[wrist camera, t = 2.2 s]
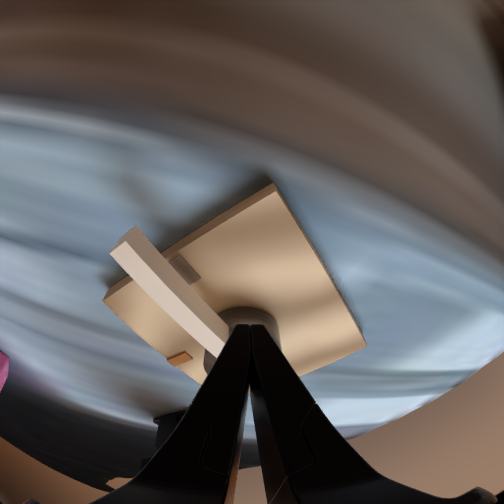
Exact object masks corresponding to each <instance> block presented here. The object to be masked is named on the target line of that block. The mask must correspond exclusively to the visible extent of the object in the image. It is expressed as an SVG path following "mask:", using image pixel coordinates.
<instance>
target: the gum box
mask: <svg viewBox="0 0 504 504" xmlns="http://www.w3.org/2000/svg"><path fill="white" fill-rule="evenodd" d="M8 368H9V357H7V356H6V355H5V354H3V353H2V352H1V351H0V391H1V389H2V387H3V385H4V383H5V381H6V379H7V377H8Z"/></svg>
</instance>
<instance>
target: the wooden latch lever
mask: <svg viewBox="0 0 504 504" xmlns="http://www.w3.org/2000/svg"><path fill="white" fill-rule="evenodd" d="M110 255H111V256H112V257H113V258H114V259H115V260H116V261H117V262H118V263H119V265H120V266H121V267H122V268H123V269H124V270H125V271H126V272H127V273H128V274H129V275H130V276H131V277H132V278H133V279H134V280H135V282H136V283H137V284H138V285H139V286H140V287H141V288H142V289H143V290H144V291H145V292H146V293H147V294H148V295H149V296H150V297H151V298H152V299H153V300H154V301H155V302H156V303H157V304H158V305H159V306H160V307H161V308H162V309H163V310H164V311H165V312H166V313H168V314H169V315H170V316H171V317H172V318H173V319H174V320H175V321H176V322H177V323H178V324H179V325H180V326H181V327H182V328H183V329H185V330H186V331H187V332H188V333H189V334H190V335H191V336H192V337H193V338H194V339H196V340H197V341H198V342H199V343H200V344H201V345H202V346H203V347H204V348H205V353H204V361H203V366H204V370H205V372H206V373H207V374H208V373H209V371H210V370H211V368H212V366H213V364H214V363H215V361H216V359H217V357H218V355H219V354H220V352H221V350H222V348H223V347H224V345H225V343H226V341H227V340H228V338H229V336H230V334H231V332H232V331H233V329H234V327H235V325H236V324H238V323H242V324H249V325H251V324H264V325H265V327H266V328H267V330H268V331H269V333H270V334H271V336H272V337H273V339H274V340H275V342H276V343H277V345H278V346H279V348H280V349H281V341H280V333H279V327H278V324H277V322H276V320H275V319H274V318H273V317H272V316H271V315H270V314H268V313H267V312H265V311H263V310H260V309H257V308H253V307H233V308H229V309H226V310H223V311H221V312H219V313H218V314H216V313H215V312H214V311H213V310H212V309H211V308H210V307H209V306H208V305H207V304H206V303H205V301H204V300H203V299H202V298H201V297H200V296H199V295H198V294H197V293H196V292H195V291H194V290H193V289H192V288H191V287H190V286H189V284H188V283H187V282H186V281H185V280H184V279H183V278H182V277H181V276H180V275H179V274H178V272H177V271H176V270H175V269H174V268H173V267H172V266H171V265H170V264H169V263H168V261H167V260H166V259H165V258H164V257H163V256H162V255H161V254H160V252H159V251H158V250H157V249H156V248H155V247H154V246H153V244H152V243H151V242H150V241H149V240H148V239H147V237H146V236H145V235H144V234H143V233H142V232H141V230H140V229H139V228H138V227H137V226H135V227H134V228H132V229H131V230H130V231H128V232H127V233H126V234H125V235H123V236H122V237H121V238H120V239H119V241H118V242H117V244H116V245H115V246H114V248H113V249H112V251H111V252H110ZM281 351H282V349H281Z"/></svg>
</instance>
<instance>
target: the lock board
mask: <svg viewBox="0 0 504 504" xmlns="http://www.w3.org/2000/svg"><path fill="white" fill-rule="evenodd" d="M160 254H161V255H162V256H163V257H164V258H165V259H166V260H167V261H168V263H169V264H170V265H171V266H172V267H173V268H174V269H175V270H176V271H177V272H178V274H179V275H180V276H181V277H182V278H183V279H184V280H185V281H186V282H187V283H188V284H189V286H190V287H191V288H192V289H193V290H194V291H195V292H196V293H197V294H198V295H199V296H200V297H201V298H202V299H203V300H204V301H205V303H206V304H207V305H208V306H209V307H210V308H211V309H212V310H213V311H214V312H215V313H216V314H218V313H219V312H221V311H223V310H226V309H229V308H233V307H253V308H257V309H260V310H263V311H265V312H267V313H268V314H270V315H271V316H272V317H273V318H274V319H275V320H276V322H277V324H278V327H279V333H280V341H281V349H282V352H283V354H284V356H285V357H286V359H287V360H288V362H289V363H290V365H291V366H292V368H293V369H294V371H295V372H296V373H297V375H298V376H301V375H304V374H306V373H309V372H311V371H314V370H316V369H318V368H321V367H323V366H325V365H328V364H330V363H332V362H334V361H337V360H339V359H341V358H343V357H345V356H347V355H350V354H352V353H354V352H356V351H358V350H360V349H362V348H364V347H366V346H367V344H366V342H365V339H364V337H363V334H362V332H361V330H360V328H359V326H358V325H357V323H356V321H355V319H354V317H353V315H352V314H351V312H350V310H349V308H348V306H347V304H346V303H345V301H344V299H343V297H342V296H341V294H340V292H339V290H338V288H337V287H336V285H335V283H334V281H333V280H332V278H331V276H330V274H329V273H328V271H327V269H326V268H325V266H324V264H323V262H322V261H321V259H320V257H319V256H318V254H317V252H316V250H315V249H314V247H313V245H312V244H311V242H310V240H309V239H308V237H307V235H306V234H305V232H304V231H303V229H302V227H301V226H300V224H299V222H298V221H297V219H296V217H295V216H294V214H293V213H292V211H291V209H290V208H289V206H288V205H287V203H286V201H285V200H284V198H283V197H282V195H281V194H280V192H279V190H278V189H277V187H276V186H275V184H274V183H271V184H270V185H268V186H266V187H265V188H263V189H261V190H260V191H258V192H256V193H255V194H253V195H251V196H250V197H248V198H246V199H245V200H243V201H241V202H240V203H238V204H237V205H235V206H233V207H232V208H230V209H228V210H227V211H225V212H224V213H222V214H220V215H219V216H217V217H216V218H214V219H212V220H211V221H209V222H208V223H206V224H205V225H203V226H201V227H200V228H198V229H197V230H195V231H194V232H192V233H191V234H189V235H187V236H186V237H184V238H183V239H181V240H180V241H178V242H177V243H175V244H174V245H172V246H171V247H169V248H168V249H166V250H165V251H163V252H162V253H160ZM103 302H104V303H105V304H106V305H107V306H108V307H109V308H110V309H111V310H112V311H113V312H114V313H115V314H116V315H117V316H118V317H119V318H120V319H122V320H123V321H124V322H125V323H126V324H127V325H128V326H129V327H130V328H131V329H133V330H134V331H135V332H136V333H137V334H138V335H139V336H140V337H142V338H143V339H144V340H145V341H146V342H147V343H149V344H150V345H151V346H152V347H153V348H155V349H156V350H157V351H158V352H159V353H161V354H162V355H163V356H164V357H165V358H167V361H168V362H169V363H170V364H172V365H173V366H174V367H175V366H177V367H178V368H179V369H181V370H182V371H183V372H185V373H186V374H187V375H189V376H190V377H191V378H192V379H194V380H195V381H197V382H198V383H199V384H201V385H202V384H203V382H204V380H205V378H206V377H207V375H208V374H207V373H206V372H205V370H204V366H203V361H204V353H205V348H204V347H203V346H202V345H201V344H200V343H199V342H198V341H197V340H196V339H194V338H193V337H192V336H191V335H190V334H189V333H188V332H187V331H186V330H185V329H183V328H182V327H181V326H180V325H179V324H178V323H177V322H176V321H175V320H174V319H173V318H172V317H171V316H170V315H169V314H168V313H166V312H165V311H164V310H163V309H162V308H161V307H160V306H159V305H158V304H157V303H156V302H155V301H154V300H153V299H152V298H151V297H150V296H149V295H148V294H147V293H146V292H145V291H144V290H143V289H142V288H141V287H140V286H139V285H138V284H137V283H136V282H135V280H134V279H133V278H132V277H131V276H130V275H128V276H126V277H125V278H123V279H122V280H120V281H119V282H118V283H116V284H115V285H113V286H112V287H110V288H109V290H108V291H107V293H106V295H105V297H104V299H103ZM248 395H250V389H249V394H248Z"/></svg>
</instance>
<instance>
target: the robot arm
mask: <svg viewBox="0 0 504 504" xmlns="http://www.w3.org/2000/svg"><path fill="white" fill-rule="evenodd" d="M249 389H250V398H251V404H252V411H253V418H254V424H255V431H256V437H257V443H258V450H259V456H260V462H261V468H262V474H263V480H264V486H265V492H266V497H267V503H268V504H504V490H502V491H501V492H499V493H498V494H496V495H493V494H492V493H490V492H489V491H487V490H485V489H483V488H481V487H475V488H473V489H472V490H470V491H468V492H466V493H464V494H462V495H460V496H458V497H456V498H441V497H437V496H433V495H431V494H427V493H425V492H422V491H419V490H416V489H414V488H411V487H408V486H406V485H403V484H401V483H398V482H395V481H393V480H391V479H389V478H387V477H385V476H383V475H381V474H380V473H378V472H377V471H376V470H375V469H373V468H372V467H371V466H370V465H369V464H368V463H367V462H366V461H365V460H364V459H363V458H362V457H361V456H360V455H359V454H358V452H357V451H356V450H355V449H354V448H353V447H352V446H351V445H350V444H349V443H348V442H347V441H346V440H345V439H344V438H343V436H342V435H341V434H340V433H339V432H338V431H337V430H336V428H335V427H334V426H333V425H332V424H331V422H330V421H329V420H328V418H327V417H326V416H325V414H324V413H323V411H322V410H321V409H320V407H319V406H318V404H315V403H316V401H315V400H314V399H313V397H312V396H311V394H310V393H309V391H308V390H307V388H306V387H305V385H304V384H303V382H302V381H301V379H300V378H299V376H298V375H297V373H296V372H295V371H294V369H293V368H292V366H291V365H290V363H289V362H288V360H287V359H286V357H285V356H284V354H283V352H282V351H281V349H280V348H279V346H278V345H277V343H276V342H275V340H274V339H273V337H272V336H271V334H270V333H269V331H268V330H267V328H266V327H265V325H264V324H251V325H249V324H242V323H238V324H236V325H235V327H234V329H233V331H232V332H231V334H230V336H229V338H228V340H227V341H226V343H225V345H224V347H223V348H222V350H221V352H220V354H219V355H218V357H217V359H216V361H215V363H214V364H213V366H212V368H211V370H210V371H209V373H208V375H207V377H206V378H205V380H204V382H203V384H202V385H201V387H200V389H199V391H198V392H197V394H196V396H195V397H194V399H193V401H192V404H191V405H190V406H189V408H188V409H187V410H186V411H182V412H178V413H174V414H170V415H165V416H161V417H157V418H154V419H153V422H154V423H155V424H157V425H158V431H157V437H156V444H155V447H156V448H157V452H156V453H155V455H154V456H153V457H150V456H148V458H147V459H142V464H141V470H140V472H139V473H138V474H137V475H136V476H135V477H134V478H133V479H132V480H131V481H129V482H128V483H127V484H125V485H123V486H121V487H120V488H118V489H116V490H114V491H112V492H111V493H109V494H107V495H105V496H103V497H102V498H99V499H98V500H96V501H94V502H92V503H90V504H233V501H234V494H235V487H236V480H237V474H238V467H239V460H240V453H241V446H242V439H243V431H244V424H245V417H246V409H247V402H248V394H249ZM0 504H4V503H2V502H1V501H0ZM23 504H42V503H39V502H37V501H35V500H33V499H29V500H27V501H26V502H24V503H23Z"/></svg>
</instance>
